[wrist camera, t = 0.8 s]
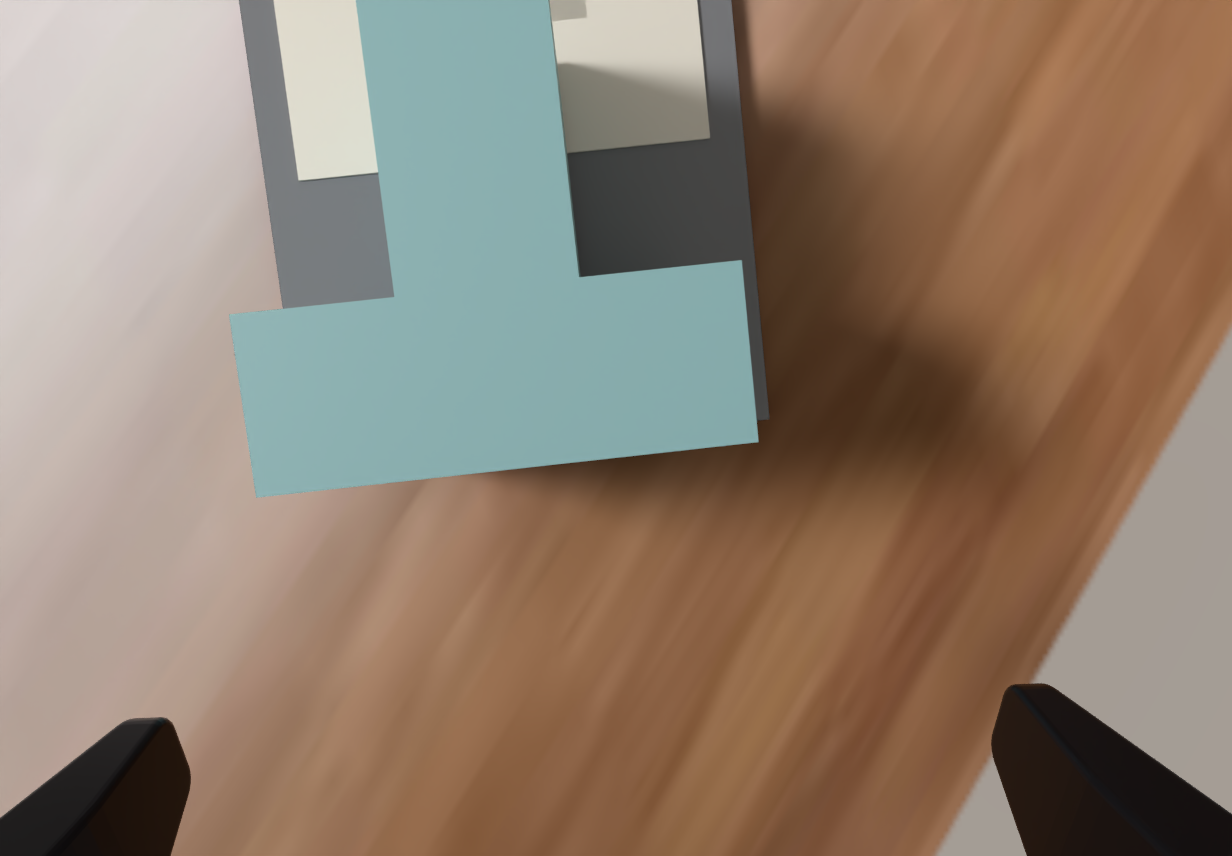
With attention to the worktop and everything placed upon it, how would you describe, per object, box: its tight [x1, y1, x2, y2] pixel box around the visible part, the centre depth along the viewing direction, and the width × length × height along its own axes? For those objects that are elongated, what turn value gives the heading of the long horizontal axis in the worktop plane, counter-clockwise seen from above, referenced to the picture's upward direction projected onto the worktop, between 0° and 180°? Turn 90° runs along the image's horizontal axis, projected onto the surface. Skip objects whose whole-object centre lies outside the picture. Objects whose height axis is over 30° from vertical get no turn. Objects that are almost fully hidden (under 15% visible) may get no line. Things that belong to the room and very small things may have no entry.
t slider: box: [229, 0, 759, 498], centre depth 20 cm, size 11×10×8 cm
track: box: [239, 0, 769, 421], centre depth 22 cm, size 22×14×4 cm, turn 6°
